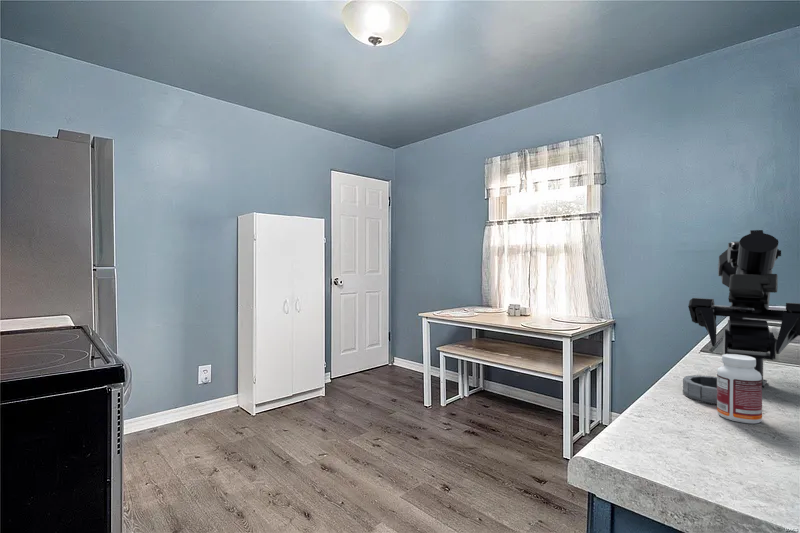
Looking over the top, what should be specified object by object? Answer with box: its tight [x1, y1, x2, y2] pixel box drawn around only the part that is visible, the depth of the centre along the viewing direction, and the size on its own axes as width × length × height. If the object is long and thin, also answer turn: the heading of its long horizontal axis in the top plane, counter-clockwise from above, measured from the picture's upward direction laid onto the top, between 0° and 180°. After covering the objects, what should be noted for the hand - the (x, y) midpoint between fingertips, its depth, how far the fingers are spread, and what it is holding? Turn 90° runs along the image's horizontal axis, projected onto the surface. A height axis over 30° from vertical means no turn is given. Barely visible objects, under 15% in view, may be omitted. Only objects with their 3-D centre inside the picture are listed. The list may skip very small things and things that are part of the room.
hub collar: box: [682, 374, 717, 406], centre depth 82 cm, size 11×11×3 cm
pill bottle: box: [716, 353, 763, 425], centre depth 72 cm, size 6×6×11 cm
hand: (743, 348), depth 75 cm, fingers open, 9 cm apart
